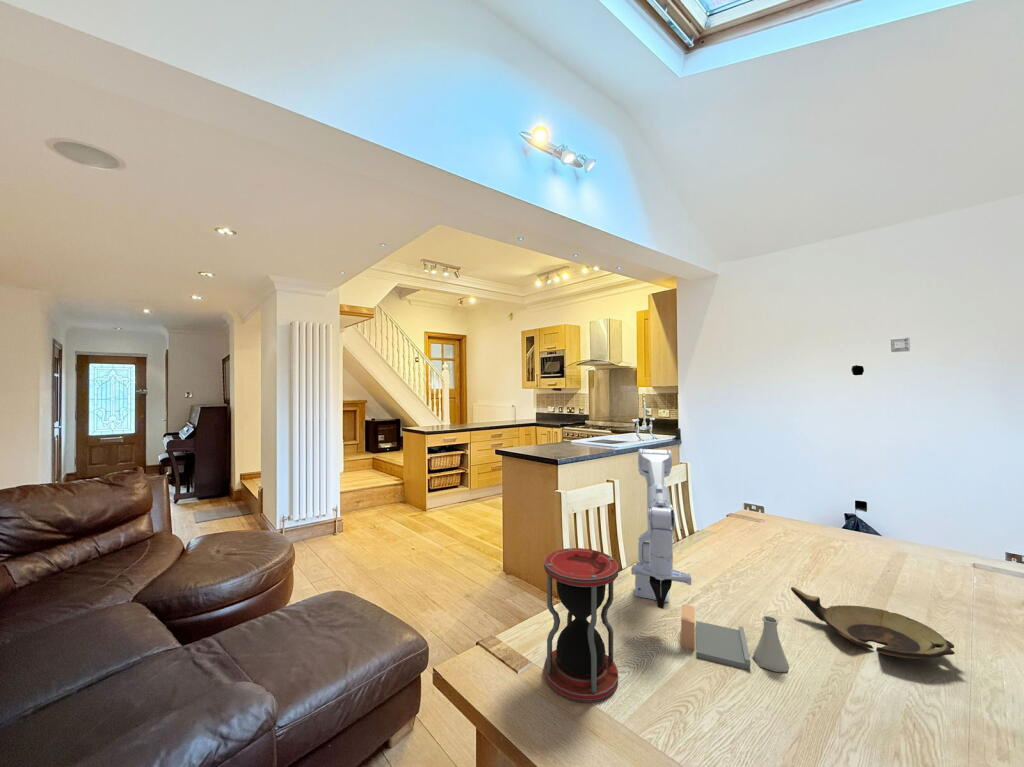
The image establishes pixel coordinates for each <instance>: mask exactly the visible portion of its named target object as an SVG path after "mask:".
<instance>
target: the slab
mask: <svg viewBox="0 0 1024 767" xmlns="http://www.w3.org/2000/svg"><path fill="white" fill-rule="evenodd" d="M695 612H696V611H695V606H692V605H687V604H684V603H682V604H681V618H680V619H681V620H680V622H681V623H680V624H681V625H680V629H681V630H680V636H681V637H680V644H681V645H680V646H681V647H682V648H683V647H684V648H687V649H691V650H695V649H696V648H695V645H696V644H695V642H696V630H695V629H696V625H695V624H696V621H695V620H696V619H695V618H696V616H695V614H696V613H695Z"/></svg>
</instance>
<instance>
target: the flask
mask: <svg viewBox="0 0 1024 767" xmlns="http://www.w3.org/2000/svg"><path fill="white" fill-rule="evenodd" d="M762 621H763V629H762V633H761V636H760V638H759V640H758V643H757V645H756V647H755V649H754V651H753V656H752V659H753V660H754V661H755V663H756V664H757V665H758V667H761V668H763V669H767V670H769V671H772V672H775V673H777V672H781V673H785V672H788V671H789V666H790V665H789V663H788V659H787V657H786V654H785V652H784V649H783V646H782V643H781V640H780V637H779V634H778V633H779V632H778V625H779V620H778V619H777V618H776V617H775V616H771V615H762Z"/></svg>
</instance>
